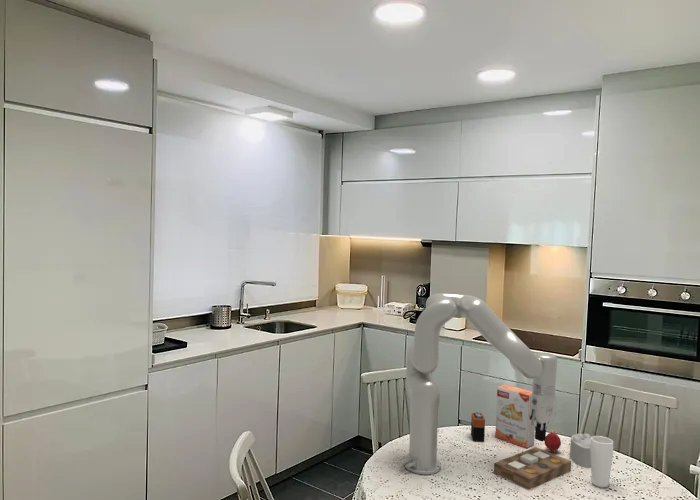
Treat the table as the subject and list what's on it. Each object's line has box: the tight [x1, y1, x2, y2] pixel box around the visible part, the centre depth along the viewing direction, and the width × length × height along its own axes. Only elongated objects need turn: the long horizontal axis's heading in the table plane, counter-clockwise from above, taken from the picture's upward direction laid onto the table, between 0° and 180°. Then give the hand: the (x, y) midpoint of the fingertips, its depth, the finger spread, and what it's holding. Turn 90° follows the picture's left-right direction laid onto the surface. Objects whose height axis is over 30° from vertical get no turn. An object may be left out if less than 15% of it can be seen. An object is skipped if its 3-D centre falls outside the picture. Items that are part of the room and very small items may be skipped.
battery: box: [470, 411, 486, 443], centre depth 214 cm, size 4×7×10 cm, turn 175°
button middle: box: [520, 454, 538, 465], centre depth 187 cm, size 4×4×2 cm
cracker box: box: [495, 383, 535, 449], centre depth 211 cm, size 14×6×21 cm, turn 42°
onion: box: [543, 430, 562, 453], centre depth 203 cm, size 6×6×8 cm
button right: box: [532, 451, 550, 460], centre depth 191 cm, size 4×4×2 cm
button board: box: [493, 446, 572, 491], centre depth 186 cm, size 24×14×4 cm, turn 127°
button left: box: [508, 461, 526, 470], centre depth 183 cm, size 4×4×2 cm
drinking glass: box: [590, 435, 614, 488], centre depth 178 cm, size 7×7×15 cm
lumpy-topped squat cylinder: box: [569, 433, 592, 469], centre depth 196 cm, size 10×13×9 cm
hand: (539, 439), depth 191 cm, fingers closed
